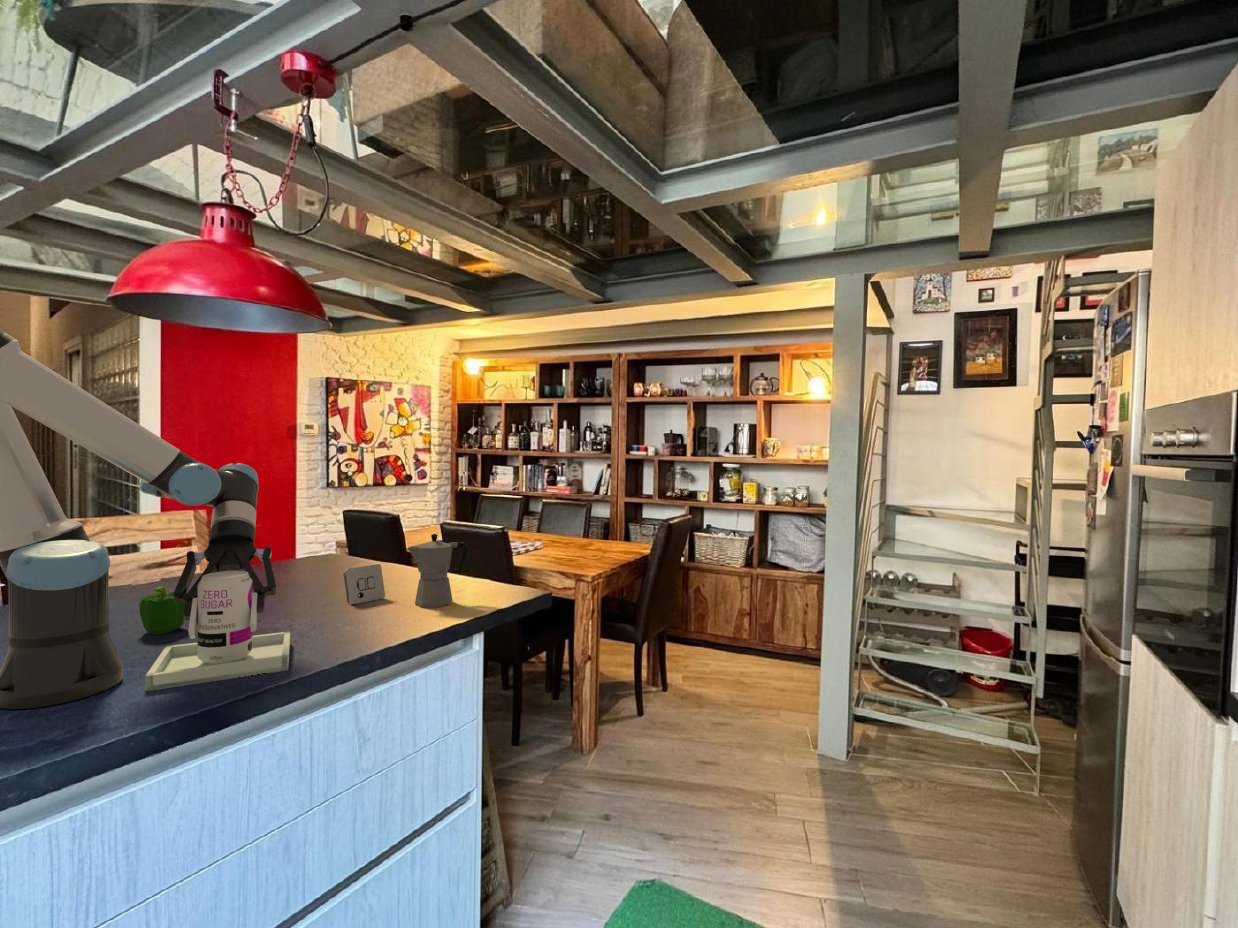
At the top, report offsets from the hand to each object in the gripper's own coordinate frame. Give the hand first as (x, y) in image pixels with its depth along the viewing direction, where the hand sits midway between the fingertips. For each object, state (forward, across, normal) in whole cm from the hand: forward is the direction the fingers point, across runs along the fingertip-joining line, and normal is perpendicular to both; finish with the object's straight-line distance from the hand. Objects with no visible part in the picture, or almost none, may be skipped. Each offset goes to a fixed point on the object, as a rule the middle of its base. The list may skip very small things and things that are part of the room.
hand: (223, 630), depth 101 cm
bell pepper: (-18, +14, -28) cm, 36 cm away
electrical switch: (-24, -26, -34) cm, 49 cm away
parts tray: (+3, 0, -7) cm, 8 cm away
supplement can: (+2, 0, -6) cm, 7 cm away
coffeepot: (-16, -43, -27) cm, 53 cm away
